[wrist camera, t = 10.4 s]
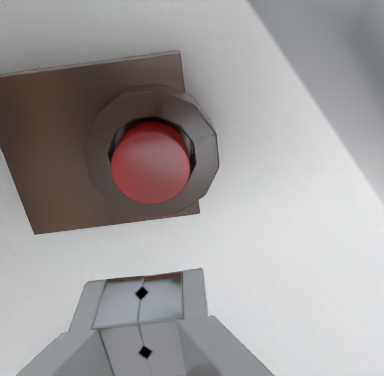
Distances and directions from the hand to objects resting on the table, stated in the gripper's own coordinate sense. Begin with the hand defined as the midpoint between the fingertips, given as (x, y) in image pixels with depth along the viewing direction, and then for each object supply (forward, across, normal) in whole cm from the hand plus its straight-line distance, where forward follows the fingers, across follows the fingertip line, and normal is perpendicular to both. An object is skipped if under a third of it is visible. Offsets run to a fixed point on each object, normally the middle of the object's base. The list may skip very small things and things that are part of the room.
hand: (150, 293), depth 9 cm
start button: (+9, 0, 0) cm, 9 cm away
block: (+12, +4, 0) cm, 13 cm away
